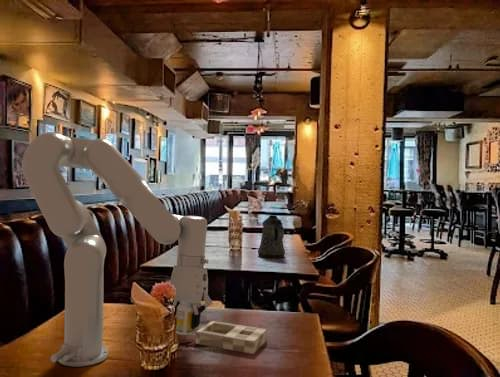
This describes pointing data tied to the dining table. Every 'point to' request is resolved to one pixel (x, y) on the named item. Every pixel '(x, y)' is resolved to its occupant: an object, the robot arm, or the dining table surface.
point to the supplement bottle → (184, 318)
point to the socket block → (231, 336)
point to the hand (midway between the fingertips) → (185, 324)
